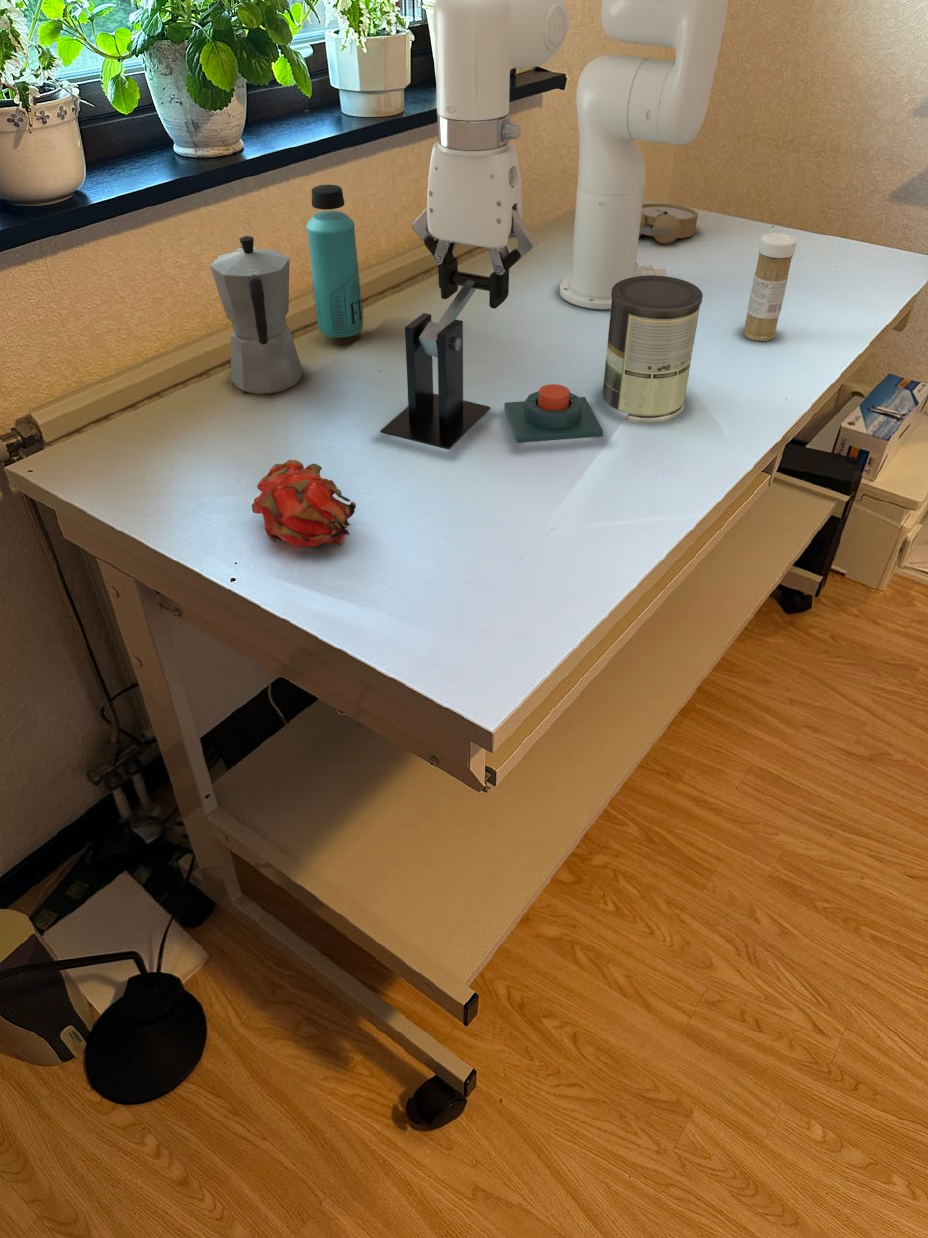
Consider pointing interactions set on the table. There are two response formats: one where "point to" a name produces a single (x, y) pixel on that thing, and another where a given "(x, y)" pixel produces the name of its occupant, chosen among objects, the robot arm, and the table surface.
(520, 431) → the button box
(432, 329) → the lever
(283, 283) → the coffeepot
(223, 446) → the table surface
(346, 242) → the beverage bottle
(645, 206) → the alarm clock
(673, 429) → the table surface
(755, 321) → the sprinkles bottle
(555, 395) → the button
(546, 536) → the table surface
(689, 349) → the coffee can
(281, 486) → the dragon fruit
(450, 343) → the bracket
